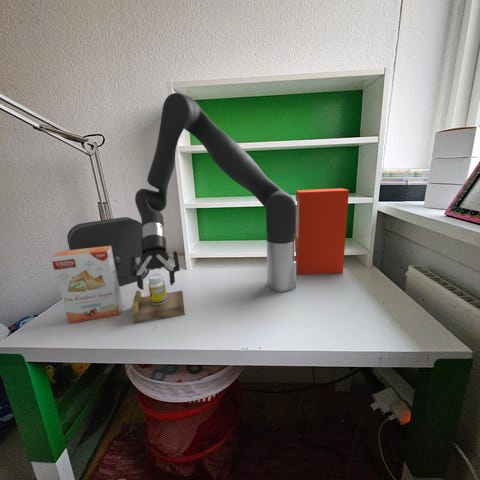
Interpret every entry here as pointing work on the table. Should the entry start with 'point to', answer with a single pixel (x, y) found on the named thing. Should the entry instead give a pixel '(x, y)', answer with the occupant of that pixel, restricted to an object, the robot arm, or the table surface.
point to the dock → (157, 307)
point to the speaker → (112, 242)
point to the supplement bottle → (157, 289)
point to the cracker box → (88, 283)
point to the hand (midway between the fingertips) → (156, 286)
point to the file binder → (320, 230)
